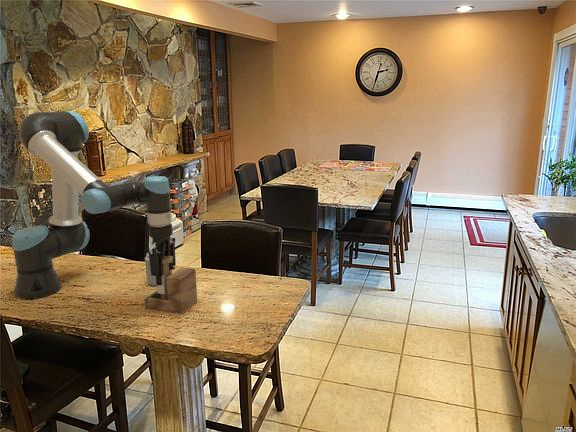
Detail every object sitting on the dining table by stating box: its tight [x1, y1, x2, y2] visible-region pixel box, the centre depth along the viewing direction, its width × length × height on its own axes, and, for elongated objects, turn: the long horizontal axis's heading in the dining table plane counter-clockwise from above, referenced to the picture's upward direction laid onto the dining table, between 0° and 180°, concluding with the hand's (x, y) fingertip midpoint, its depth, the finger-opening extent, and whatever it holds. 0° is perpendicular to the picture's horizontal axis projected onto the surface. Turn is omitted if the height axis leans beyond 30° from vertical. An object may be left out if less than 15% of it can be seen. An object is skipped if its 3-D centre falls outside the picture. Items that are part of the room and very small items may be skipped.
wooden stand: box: [144, 266, 198, 315], centre depth 158 cm, size 14×10×12 cm
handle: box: [161, 256, 173, 300], centre depth 157 cm, size 5×6×15 cm
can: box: [144, 252, 160, 287], centre depth 177 cm, size 8×8×12 cm
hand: (165, 290), depth 159 cm, fingers open, 4 cm apart
